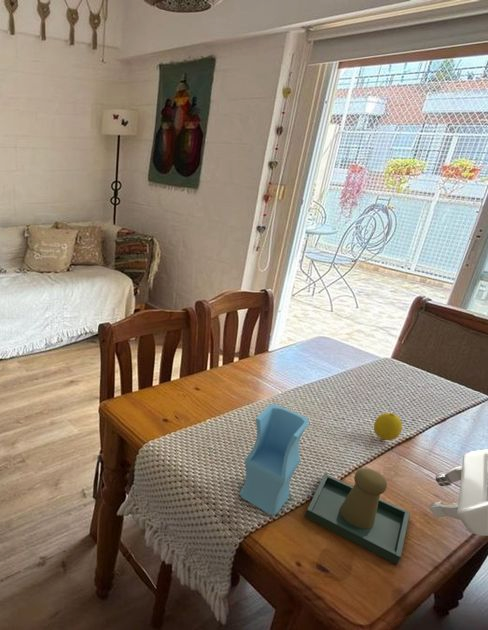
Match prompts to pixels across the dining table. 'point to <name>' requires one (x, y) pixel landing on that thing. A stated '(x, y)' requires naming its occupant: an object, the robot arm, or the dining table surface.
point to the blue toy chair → (273, 458)
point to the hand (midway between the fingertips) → (435, 494)
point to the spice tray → (378, 539)
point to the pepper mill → (363, 498)
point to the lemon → (388, 426)
